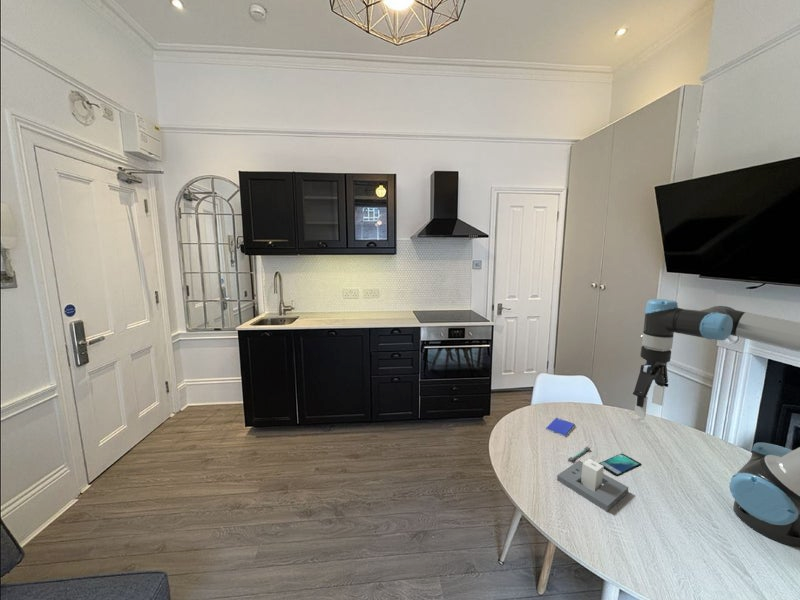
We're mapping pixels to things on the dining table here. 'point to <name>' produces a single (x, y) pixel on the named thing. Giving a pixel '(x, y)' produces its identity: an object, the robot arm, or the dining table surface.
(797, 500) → the robot arm
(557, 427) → the hard drive
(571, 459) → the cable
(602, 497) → the outlet plate
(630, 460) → the smartphone
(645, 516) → the dining table surface
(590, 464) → the charger
